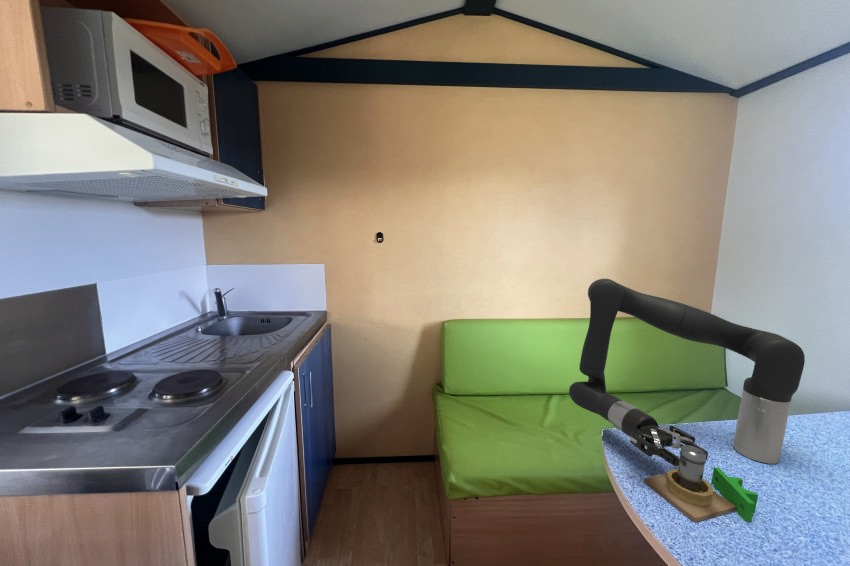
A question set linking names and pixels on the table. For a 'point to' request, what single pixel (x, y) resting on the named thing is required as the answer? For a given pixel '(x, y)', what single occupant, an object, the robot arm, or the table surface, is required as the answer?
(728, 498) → the green bracket
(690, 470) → the grey lidded jar
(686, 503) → the ring seat
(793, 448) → the table surface
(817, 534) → the table surface
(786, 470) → the table surface
